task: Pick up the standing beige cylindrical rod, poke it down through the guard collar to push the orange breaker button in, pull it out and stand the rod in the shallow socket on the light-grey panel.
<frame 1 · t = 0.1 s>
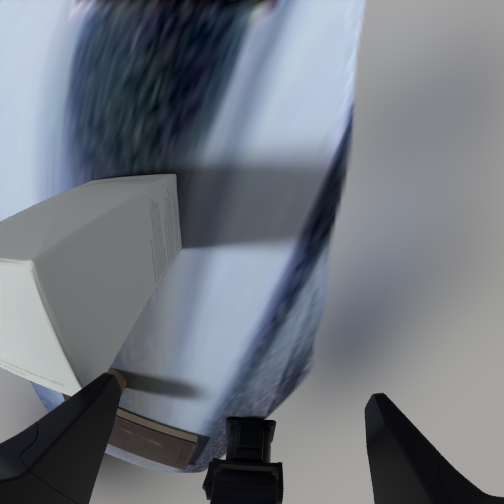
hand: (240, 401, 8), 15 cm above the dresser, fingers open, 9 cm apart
hardcover book: (130, 428, 39), on the dresser
skincare box: (136, 210, 21), on the dresser
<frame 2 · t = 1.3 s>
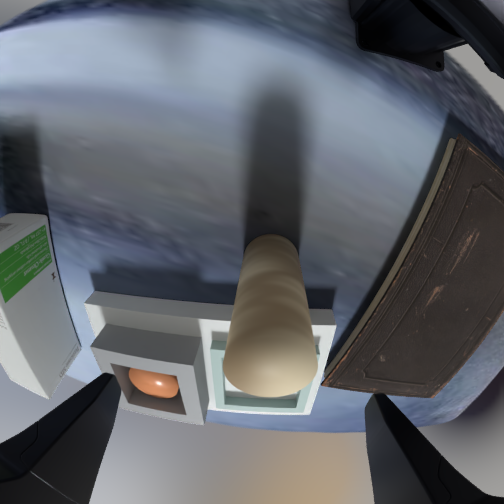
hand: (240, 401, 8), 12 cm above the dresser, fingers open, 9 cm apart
button: (154, 378, 21), point 4 cm above the dresser, slide at 0.0 cm
hardcover book: (446, 292, 21), on the dresser
panel: (207, 356, 24), on the dresser
beige cylindrical rod: (270, 259, 20), on the dresser
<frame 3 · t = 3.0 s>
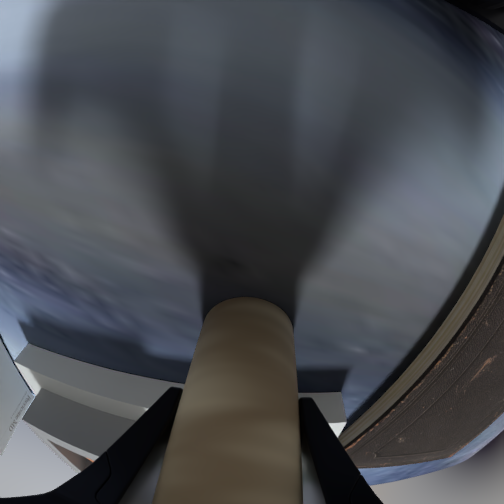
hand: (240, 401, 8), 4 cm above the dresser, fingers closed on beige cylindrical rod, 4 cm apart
button: (105, 455, 13), point 4 cm above the dresser, slide at 0.0 cm
hardcover book: (489, 349, 13), on the dresser
panel: (171, 430, 16), on the dresser
beige cylindrical rod: (247, 334, 12), on the dresser, touching gripper
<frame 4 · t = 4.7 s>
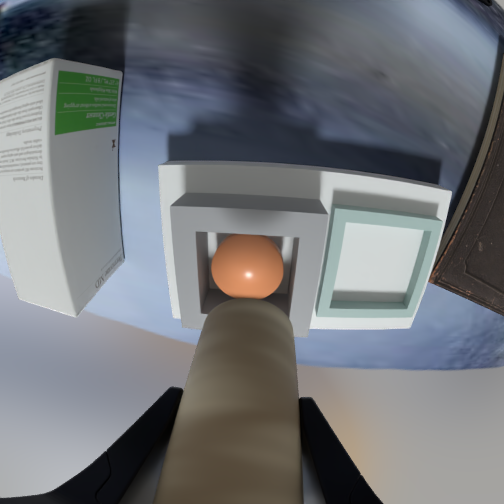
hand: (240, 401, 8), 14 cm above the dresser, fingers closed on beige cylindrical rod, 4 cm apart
button: (247, 267, 18), point 4 cm above the dresser, slide at 0.0 cm
skincare box: (55, 70, 12), point 4 cm above the dresser
panel: (306, 247, 21), on the dresser
beige cylindrical rod: (248, 335, 12), point 10 cm above the dresser, touching gripper
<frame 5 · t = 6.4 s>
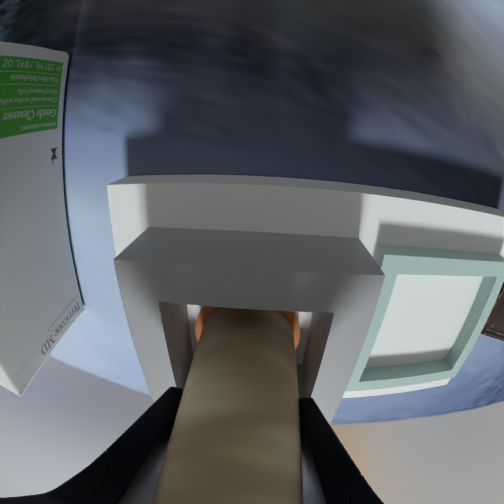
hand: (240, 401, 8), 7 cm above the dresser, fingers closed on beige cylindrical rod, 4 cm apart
button: (247, 328, 12), point 3 cm above the dresser, slide at 0.9 cm, touching beige cylindrical rod
panel: (328, 299, 14), on the dresser
beige cylindrical rod: (247, 336, 11), point 3 cm above the dresser, touching button, gripper
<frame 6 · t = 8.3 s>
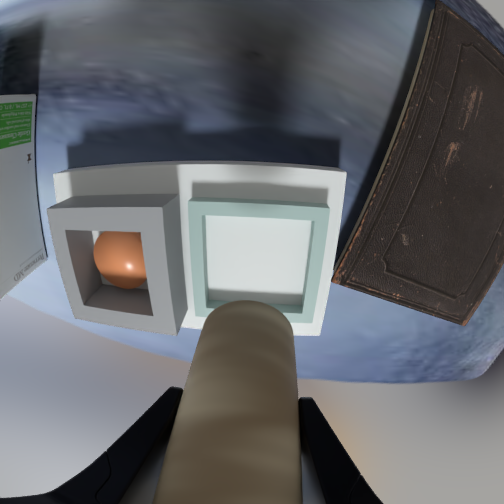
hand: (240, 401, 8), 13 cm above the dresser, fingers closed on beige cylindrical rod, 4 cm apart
button: (123, 257, 18), point 3 cm above the dresser, slide at 0.9 cm
hardcover book: (463, 173, 17), on the dresser
panel: (188, 244, 20), on the dresser
beige cylindrical rod: (247, 337, 11), point 9 cm above the dresser, touching gripper
when the fingers open (6 cm above the dresser, at t = 9.7 s): beige cylindrical rod stays where it is, resting on panel.
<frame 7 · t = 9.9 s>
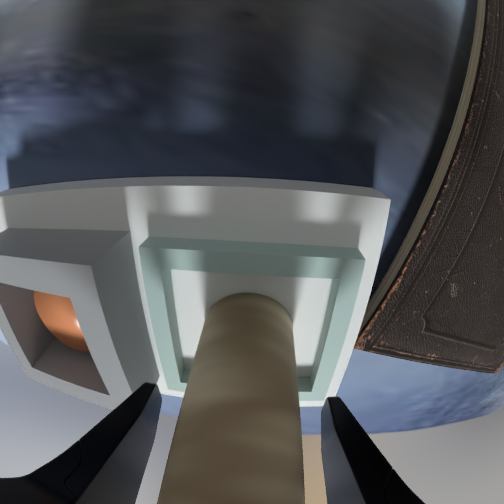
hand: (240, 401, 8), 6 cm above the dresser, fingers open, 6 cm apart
button: (69, 312, 12), point 3 cm above the dresser, slide at 0.9 cm
panel: (155, 293, 14), on the dresser
beige cylindrical rod: (248, 328, 12), point 2 cm above the dresser, touching panel
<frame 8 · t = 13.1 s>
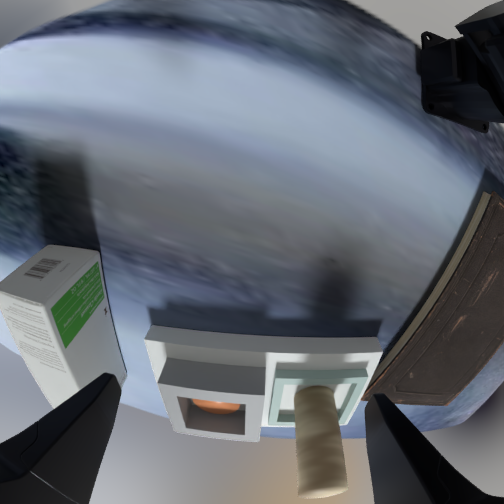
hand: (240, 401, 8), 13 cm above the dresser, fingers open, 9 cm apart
button: (216, 397, 23), point 3 cm above the dresser, slide at 0.9 cm
hardcover book: (465, 317, 22), on the dresser
skincare box: (41, 265, 17), point 4 cm above the dresser
panel: (261, 380, 25), on the dresser
beige cylindrical rod: (313, 397, 23), point 2 cm above the dresser, touching panel
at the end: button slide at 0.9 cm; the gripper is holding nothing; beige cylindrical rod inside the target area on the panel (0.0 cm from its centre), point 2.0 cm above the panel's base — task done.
